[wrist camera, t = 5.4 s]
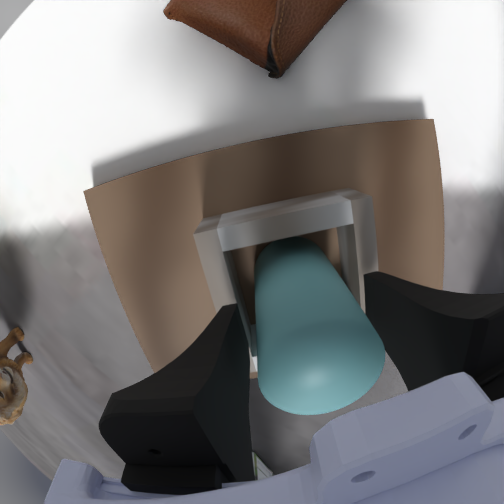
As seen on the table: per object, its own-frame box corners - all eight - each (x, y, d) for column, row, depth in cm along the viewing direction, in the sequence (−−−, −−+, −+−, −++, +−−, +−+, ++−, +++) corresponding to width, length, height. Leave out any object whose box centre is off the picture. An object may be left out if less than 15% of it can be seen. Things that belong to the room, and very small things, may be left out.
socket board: (422, 120, 14) (465, 116, 10) (430, 318, 19) (459, 349, 15) (93, 188, 15) (53, 200, 11) (166, 378, 20) (154, 420, 16)
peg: (324, 230, 15) (389, 305, 7) (330, 298, 16) (379, 399, 9) (247, 243, 15) (246, 332, 8) (260, 310, 17) (268, 422, 9)
